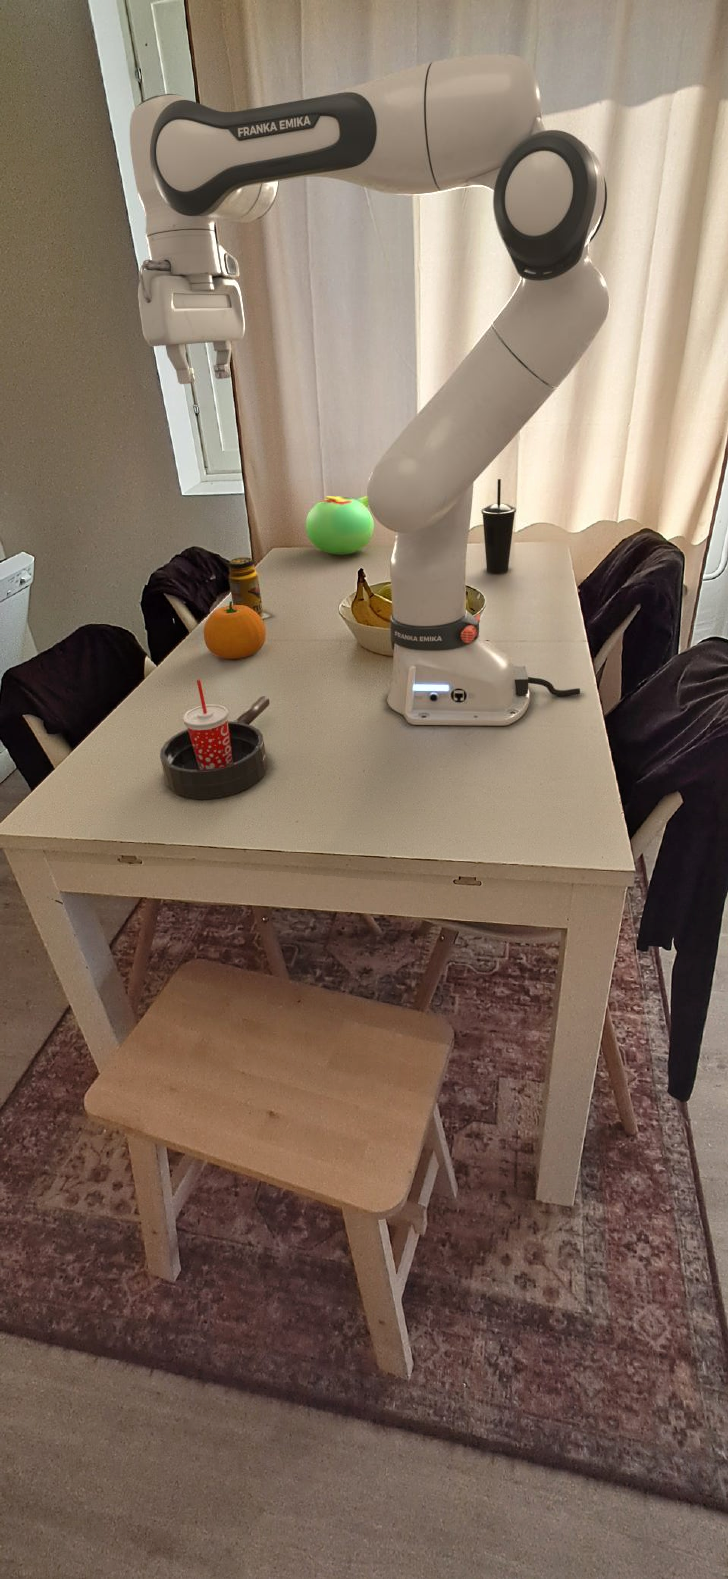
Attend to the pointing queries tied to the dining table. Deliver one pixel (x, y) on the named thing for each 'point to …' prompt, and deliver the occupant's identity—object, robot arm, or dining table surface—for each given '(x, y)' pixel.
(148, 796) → the dining table surface
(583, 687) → the dining table surface
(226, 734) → the beverage cup
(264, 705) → the skillet handle
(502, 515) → the drinking cup
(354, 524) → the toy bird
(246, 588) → the condiment
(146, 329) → the robot arm
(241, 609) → the fruit
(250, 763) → the skillet
